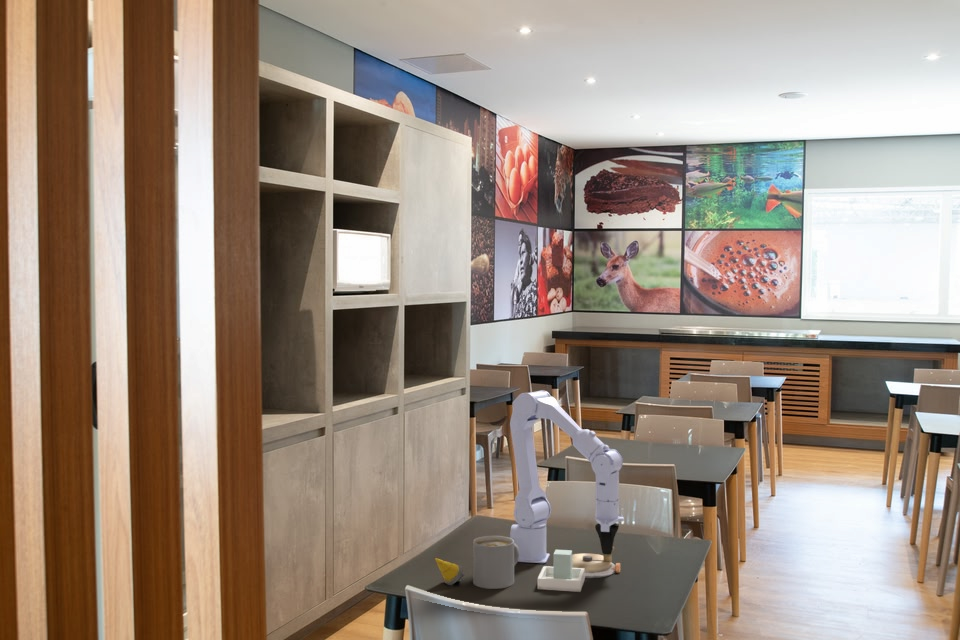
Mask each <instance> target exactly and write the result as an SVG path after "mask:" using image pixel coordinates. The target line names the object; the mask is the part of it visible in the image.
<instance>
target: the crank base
mask: <svg viewBox="0 0 960 640" xmlns="http://www.w3.org/2000/svg"><path fill="white" fill-rule="evenodd" d="M617 573H621V563H620V562H616V563H615V564H614V563H613V562H612V566H611V568H609V569H607V570H604V571H598V572H585V579H598V578H606V577H610V576H612V575H614V574H617Z"/></svg>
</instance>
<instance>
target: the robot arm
mask: <svg viewBox="0 0 960 640" xmlns="http://www.w3.org/2000/svg"><path fill="white" fill-rule="evenodd" d="M540 419H546V420H550V421H551V422H552V423H554V424H555V426H557V427H558V428H559V429H560V430H562V432H564V433H565V434H566V435H568V436H569V437H570V438H571V439H572V446H573V447H574V448H575V449H576V450H577V451H578V452H579V453H580V454H581V455H582V456H583V457H584V458H585V459H586V460H587V461H588V462H589V463H590V465H591V466H590V467H591V469H592V471H593V472H594V474H595V516H594V521H596V524H595V526H594V527H595V531H596V533H597V535H598V539H599V542H600V547H601V549H602V550H601V549H600V550H601V553H602V555H603V554H610V555H611V553H612V552H613V551H612V549H613V547H614V543H615V537H616V535H617V532H618V531H619V527H620V524H619V523H618V522H624V519H625V518H624V516H619V515H620V514H619V513H620V507H619V506H620V505H619V503H620V470H621V469H622V467H623V464H624V460H623V456H622V455H621V454H620V452H619V451H618V450H617V449H614V448H610V446H609V445H608V444H605V443H604V442H603V441H602V440H600V439H599V438H598V436H596V434H597V433H596V432H595V431H594V430H590V429H588V428H586V429H585V428H584V429H583V428H581V427H580V426H579V425H578V424H577V422H576V421H574V419H573V418H572V416H570V415H569V414H568V412H566V410H564V408H562V406H561V405H560V404H559V403H558V400H557V399H556V398H555V397H554V396H552V395H551V394H550V392H548V391H547V390H544V389H541V390H537V391H532V392H522V393H519V395H517V396H516V398H515V399H514V400H513V401H512V413H511V417H510V419H509V420H510V421H509V422H510V423H509V427H510V428H509V429H510V434H511V441H512V442H511V443H512V448H513V455H514V462H515V469H516V475H517V482H518V491H517V493H516V496H515V497H514V504H515V505H514V510H513V517H514V520H515V522H516V523H517V524H516V523H515V524H512V525H511V527H510V533H509V538H511V539H513V540H514V544H516V545H517V546H518V549H519V558H518V562H517V563H532V564H533V563H534V564H547V562H548V560H549V558H550V555H551V554H550V553H547V523H548V522H547V521H548V519H549V517H551V513H552V507H551V503H550V502H549V500H548V499H547V493H546V491H545V490H544V489H543V487H541V486H540V484H541V483H540V478H539V471H538V465H537V457H536V449H535V445H534V437H533V431H532V427H533V426H534V425H535V424H536V422H537V421H538V420H540ZM612 554H613V553H612Z"/></svg>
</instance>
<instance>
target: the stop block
mask: <svg viewBox="0 0 960 640" xmlns="http://www.w3.org/2000/svg"><path fill="white" fill-rule="evenodd" d="M572 555H573V550H571V549H570V550H568V549H554V552H553V560H552V563H553V566H552V567H553V570H554V578H556V579H572Z"/></svg>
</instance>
